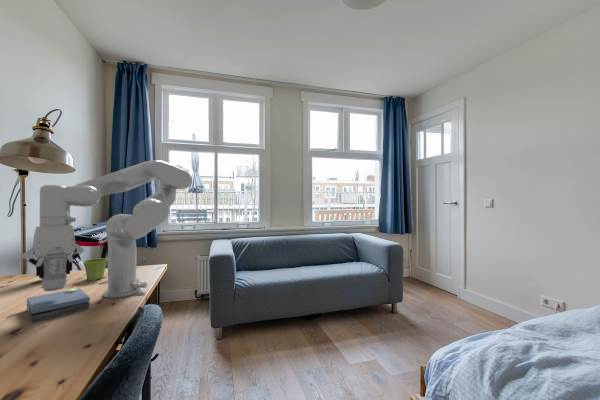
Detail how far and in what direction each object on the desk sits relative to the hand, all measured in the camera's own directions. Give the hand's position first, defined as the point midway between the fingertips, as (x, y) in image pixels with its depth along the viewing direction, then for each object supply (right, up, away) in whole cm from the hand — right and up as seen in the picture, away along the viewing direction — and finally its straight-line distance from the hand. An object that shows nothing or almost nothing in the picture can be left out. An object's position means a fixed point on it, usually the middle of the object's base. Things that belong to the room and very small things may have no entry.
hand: (54, 275), depth 88 cm
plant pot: (-14, -12, +36) cm, 40 cm away
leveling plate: (0, -10, +2) cm, 10 cm away
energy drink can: (0, -5, 0) cm, 5 cm away
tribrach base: (-1, -12, +2) cm, 12 cm away
